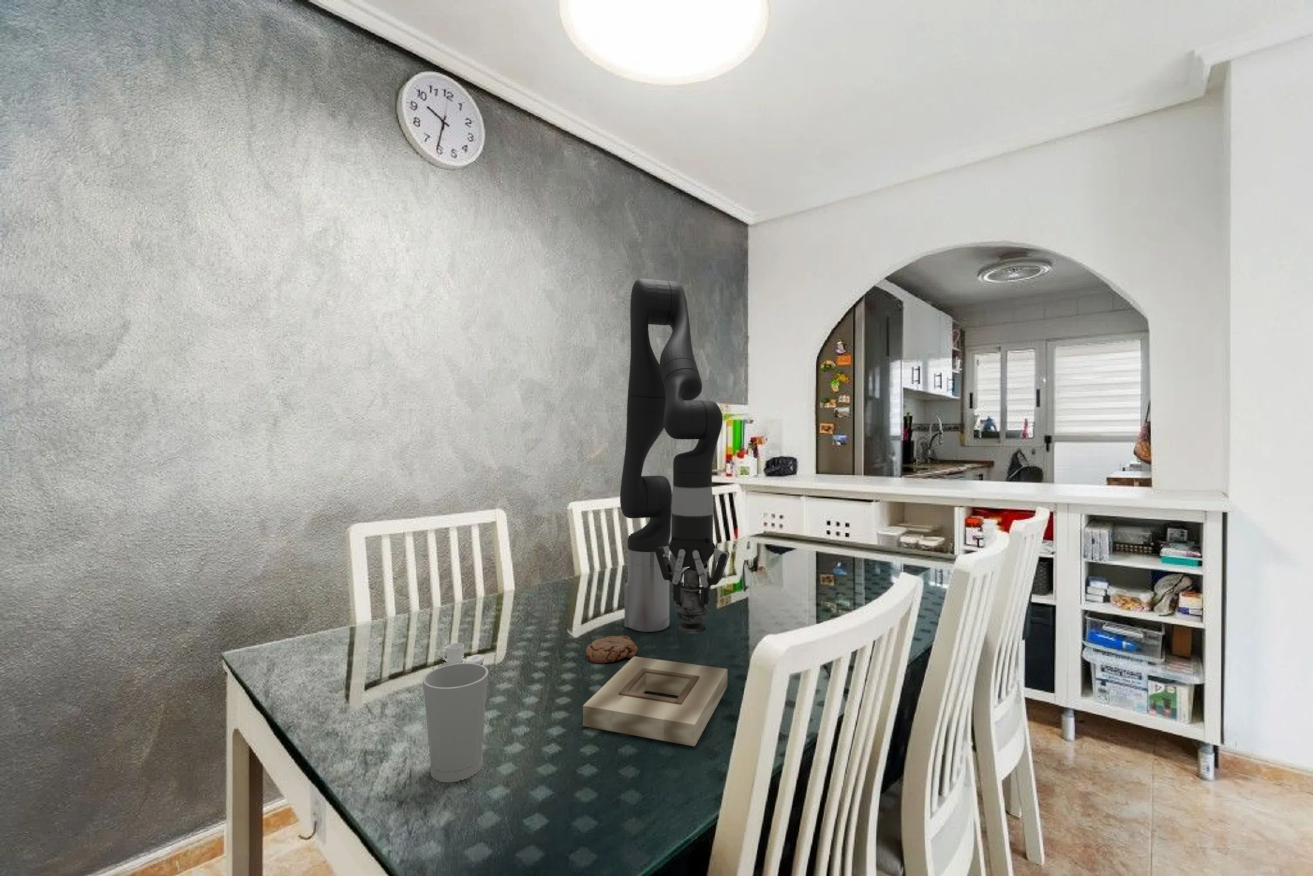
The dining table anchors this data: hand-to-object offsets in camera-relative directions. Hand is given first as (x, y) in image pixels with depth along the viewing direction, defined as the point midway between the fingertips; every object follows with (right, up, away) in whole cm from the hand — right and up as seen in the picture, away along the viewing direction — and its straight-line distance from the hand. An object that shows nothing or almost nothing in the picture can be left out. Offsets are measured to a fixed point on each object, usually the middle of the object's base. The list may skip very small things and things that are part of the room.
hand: (691, 604), depth 107 cm
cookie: (-15, -12, +8) cm, 21 cm away
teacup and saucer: (-42, -13, 0) cm, 44 cm away
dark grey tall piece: (0, -5, 0) cm, 5 cm away
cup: (-32, -12, -31) cm, 46 cm away
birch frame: (-6, -12, -14) cm, 19 cm away
